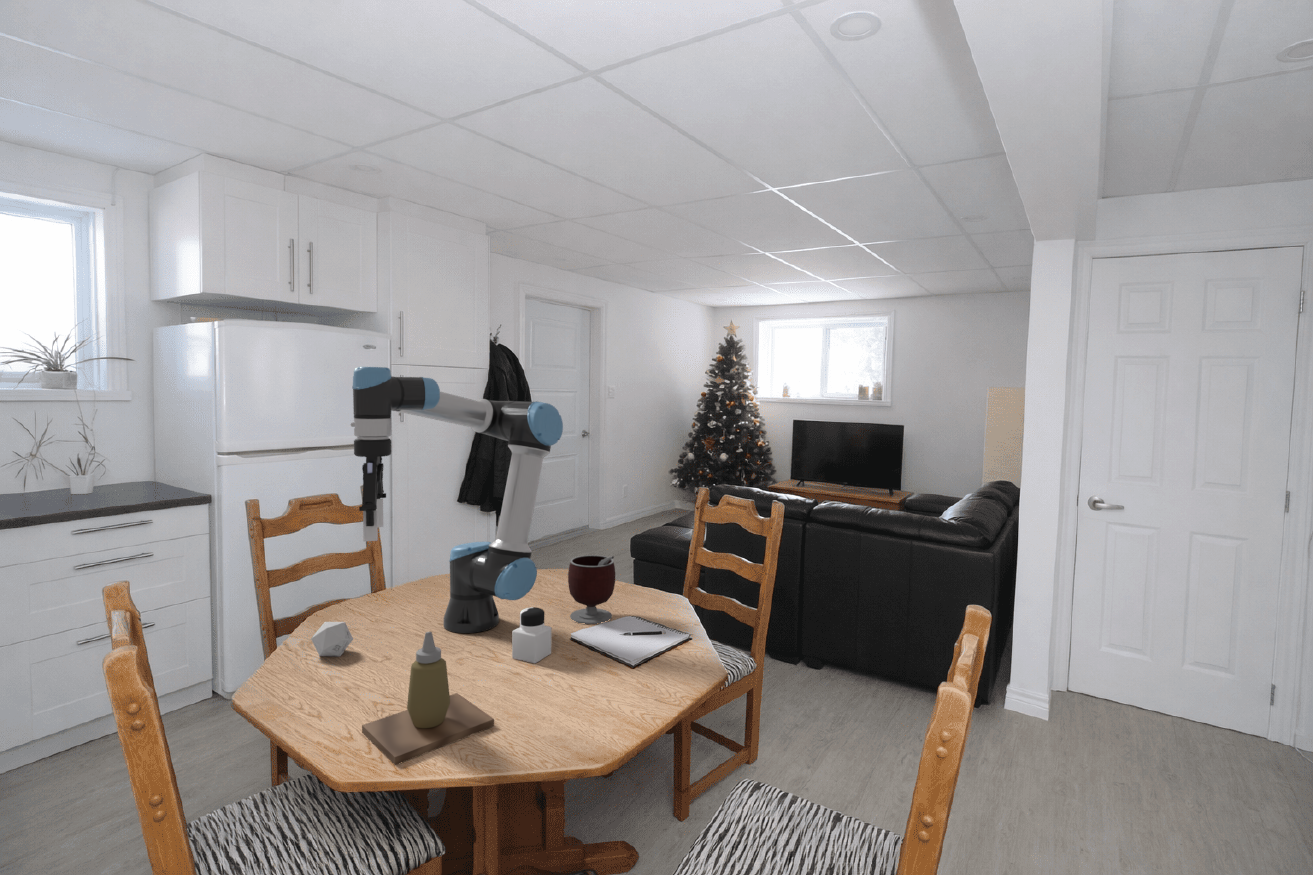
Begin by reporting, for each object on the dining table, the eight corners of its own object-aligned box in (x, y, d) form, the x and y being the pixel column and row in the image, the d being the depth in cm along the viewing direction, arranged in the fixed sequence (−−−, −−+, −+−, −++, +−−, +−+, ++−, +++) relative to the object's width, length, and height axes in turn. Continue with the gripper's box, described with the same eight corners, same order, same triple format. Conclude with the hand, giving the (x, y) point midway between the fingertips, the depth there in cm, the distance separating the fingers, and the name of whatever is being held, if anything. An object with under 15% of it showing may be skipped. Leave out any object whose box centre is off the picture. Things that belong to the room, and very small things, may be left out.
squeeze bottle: (413, 711, 132) (413, 625, 130) (454, 711, 133) (454, 624, 131) (401, 732, 124) (400, 640, 122) (444, 732, 125) (445, 640, 123)
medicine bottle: (551, 653, 166) (552, 607, 165) (535, 664, 160) (535, 616, 159) (528, 648, 169) (529, 603, 168) (511, 658, 163) (511, 611, 162)
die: (325, 666, 157) (351, 631, 159) (297, 646, 158) (324, 611, 160) (340, 665, 165) (365, 631, 167) (314, 645, 166) (339, 612, 168)
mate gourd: (557, 617, 192) (558, 550, 191) (591, 606, 203) (592, 542, 201) (594, 630, 182) (595, 560, 181) (628, 618, 193) (629, 552, 191)
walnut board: (457, 699, 141) (457, 692, 140) (494, 725, 130) (494, 718, 130) (362, 732, 126) (362, 725, 126) (394, 765, 116) (394, 757, 116)
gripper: (360, 433, 153) (362, 522, 154) (345, 442, 129) (347, 548, 131) (395, 433, 155) (396, 521, 157) (386, 442, 132) (387, 546, 133)
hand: (373, 533), depth 144 cm, fingers open, 13 cm apart
